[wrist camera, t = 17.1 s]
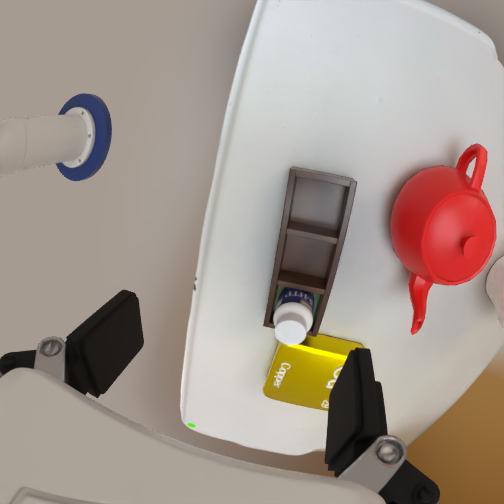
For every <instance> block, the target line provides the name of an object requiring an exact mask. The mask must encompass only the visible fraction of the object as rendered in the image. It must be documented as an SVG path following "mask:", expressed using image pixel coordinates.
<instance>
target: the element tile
mask: <svg viewBox="0 0 504 504" xmlns="http://www.w3.org/2000/svg"><path fill="white" fill-rule="evenodd" d="M356 347H359V348H364V347H363V346H362V345H361V344H359V343H355V342H351V341H346V340H342V339H338V338H333V337H329V336H325V335H321V334H317V336H316V337H313V336H308V335H306V337H305V339H304V340H303V341H302V342H301V343H299V344H297V345H286V344H283V343H281V342H280V341H279V343H278V346H277V349H276V352H275V355H274V357H273V360H272V363H271V366H270V369H269V371H268V374H267V377H266V381H265V384H264V388H263V393H264V395H265V396H267V397H268V398H271V399H274V400H278V401H282V402H287V403H291V404H295V405H300V406H304V407H309V408H314V409H319V410H325V411H328V409H329V395H330V392H331V390H332V388H333V386H334V384H335V382H336V380H337V378H338V376H339V374H340V371H341V369H342V367H343V365H344V363H345V361H346V359H347V357H348V354H349V352H350V351H351V350H355V348H356Z"/></svg>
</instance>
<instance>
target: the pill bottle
mask: <svg viewBox="0 0 504 504" xmlns="http://www.w3.org/2000/svg"><path fill="white" fill-rule="evenodd" d="M313 313H314V294H313V293H312V292H308V291H303V290H298V289H293V288H288V287H285V288H284V289H283V290H282V291H281V293H280V296H279V299H278V303H277V306H276V309H275V312H274V317H273V321H274V325H275V336H276V338H277V339H278V340H279V341H280V342H281V343H283V344H286V345H297V344H299V343H301V342H302V341H303V340H304V339H305V337H306V333H307V332H308V331H309V330H310V328H311V326H312V323H313Z"/></svg>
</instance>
